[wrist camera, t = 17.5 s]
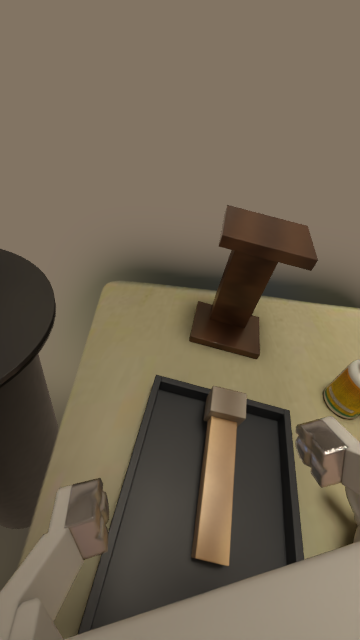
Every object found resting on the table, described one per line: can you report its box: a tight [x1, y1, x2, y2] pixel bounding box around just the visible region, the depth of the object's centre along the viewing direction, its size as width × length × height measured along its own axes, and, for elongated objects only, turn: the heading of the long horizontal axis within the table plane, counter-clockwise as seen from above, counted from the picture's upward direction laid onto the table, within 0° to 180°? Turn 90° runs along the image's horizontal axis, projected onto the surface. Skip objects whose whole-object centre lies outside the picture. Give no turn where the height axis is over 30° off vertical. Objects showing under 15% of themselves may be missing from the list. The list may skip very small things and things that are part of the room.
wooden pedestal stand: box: [189, 205, 318, 359], centre depth 41 cm, size 11×9×18 cm
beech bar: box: [191, 386, 247, 566], centre depth 30 cm, size 4×16×4 cm, turn 171°
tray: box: [78, 375, 304, 634], centre depth 29 cm, size 18×24×2 cm
